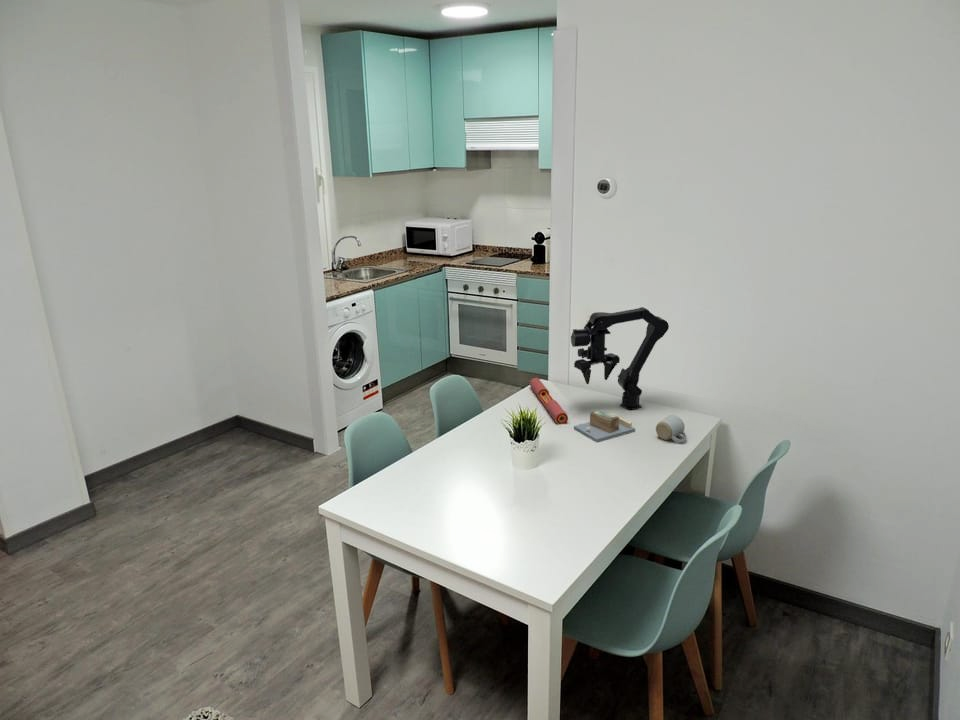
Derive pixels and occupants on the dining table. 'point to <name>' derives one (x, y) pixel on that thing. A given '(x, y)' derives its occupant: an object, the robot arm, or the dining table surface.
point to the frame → (604, 421)
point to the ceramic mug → (671, 428)
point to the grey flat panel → (602, 435)
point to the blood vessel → (549, 401)
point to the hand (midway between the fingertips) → (596, 381)
